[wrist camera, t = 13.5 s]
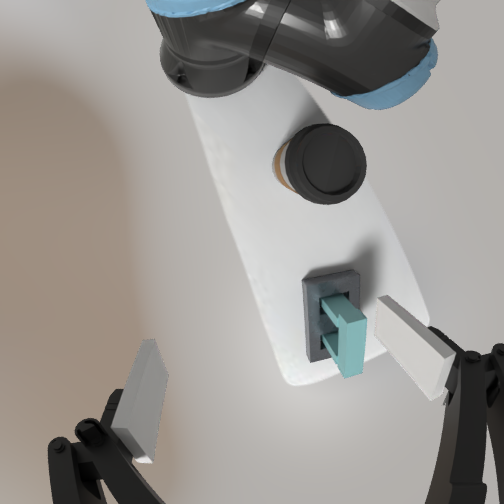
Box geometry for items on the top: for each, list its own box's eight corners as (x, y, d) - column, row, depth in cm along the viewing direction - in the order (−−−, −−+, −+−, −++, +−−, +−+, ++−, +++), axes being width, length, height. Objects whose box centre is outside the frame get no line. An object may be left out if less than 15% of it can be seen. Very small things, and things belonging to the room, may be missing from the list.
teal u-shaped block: (318, 290, 45) (345, 324, 34) (338, 286, 45) (369, 317, 34) (320, 340, 47) (342, 379, 37) (338, 335, 48) (363, 372, 37)
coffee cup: (326, 148, 38) (378, 138, 24) (312, 201, 40) (358, 217, 26) (272, 130, 37) (302, 107, 23) (257, 186, 39) (279, 193, 25)
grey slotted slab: (301, 280, 44) (306, 286, 41) (353, 269, 44) (359, 274, 42) (306, 354, 48) (310, 362, 46) (351, 343, 49) (356, 350, 46)
